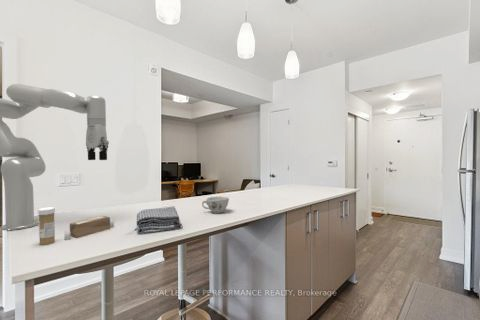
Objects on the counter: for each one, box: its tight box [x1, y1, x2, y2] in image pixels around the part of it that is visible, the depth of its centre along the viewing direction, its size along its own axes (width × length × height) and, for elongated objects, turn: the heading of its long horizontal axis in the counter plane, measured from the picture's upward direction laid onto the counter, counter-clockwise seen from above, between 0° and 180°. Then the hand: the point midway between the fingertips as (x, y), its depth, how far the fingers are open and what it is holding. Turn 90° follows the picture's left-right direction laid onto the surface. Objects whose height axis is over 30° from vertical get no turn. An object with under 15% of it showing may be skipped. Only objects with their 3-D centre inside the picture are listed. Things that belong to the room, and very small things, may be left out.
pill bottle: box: [37, 206, 56, 246], centre depth 85 cm, size 5×5×13 cm
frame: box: [69, 215, 111, 239], centre depth 96 cm, size 5×13×5 cm, turn 149°
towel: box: [136, 205, 183, 235], centre depth 105 cm, size 15×18×8 cm
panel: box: [64, 219, 115, 241], centre depth 97 cm, size 16×20×4 cm
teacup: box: [201, 196, 230, 214], centre depth 132 cm, size 15×12×8 cm
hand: (97, 160), depth 110 cm, fingers open, 9 cm apart
